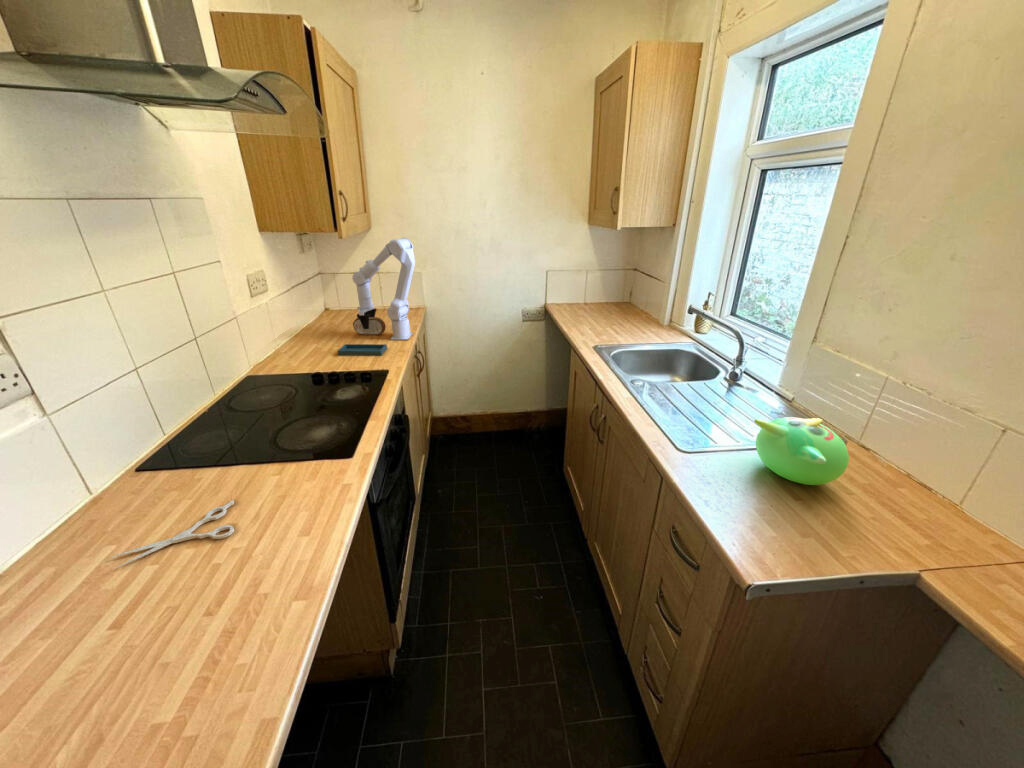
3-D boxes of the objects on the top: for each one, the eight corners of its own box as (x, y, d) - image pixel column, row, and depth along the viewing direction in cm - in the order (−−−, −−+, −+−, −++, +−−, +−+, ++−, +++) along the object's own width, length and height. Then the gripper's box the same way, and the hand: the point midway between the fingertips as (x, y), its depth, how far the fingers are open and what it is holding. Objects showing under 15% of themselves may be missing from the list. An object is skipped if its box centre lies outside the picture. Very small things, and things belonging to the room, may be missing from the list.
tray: (346, 348, 180) (345, 344, 179) (387, 348, 179) (386, 344, 178) (338, 355, 172) (337, 350, 171) (381, 355, 172) (380, 351, 171)
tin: (386, 334, 198) (384, 316, 195) (384, 336, 195) (382, 318, 192) (356, 333, 200) (353, 315, 196) (353, 335, 197) (350, 317, 193)
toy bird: (851, 484, 95) (874, 429, 89) (811, 510, 88) (833, 451, 82) (773, 447, 109) (788, 397, 103) (733, 465, 102) (747, 413, 96)
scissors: (243, 527, 82) (107, 582, 70) (244, 530, 82) (109, 585, 71) (233, 499, 89) (109, 545, 78) (234, 502, 90) (110, 548, 78)
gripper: (361, 294, 197) (365, 322, 203) (350, 301, 184) (354, 330, 189) (376, 294, 197) (380, 322, 202) (366, 301, 184) (370, 331, 189)
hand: (369, 326), depth 196 cm, fingers open, 7 cm apart
